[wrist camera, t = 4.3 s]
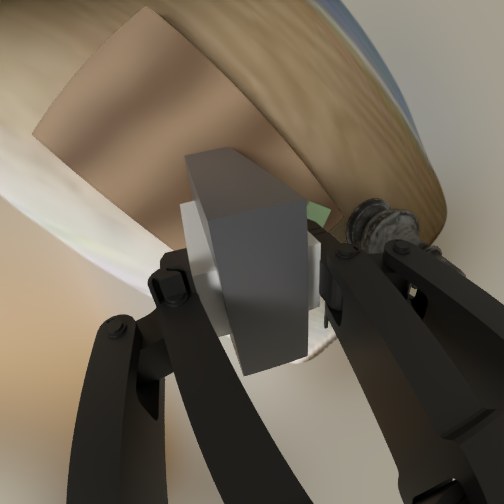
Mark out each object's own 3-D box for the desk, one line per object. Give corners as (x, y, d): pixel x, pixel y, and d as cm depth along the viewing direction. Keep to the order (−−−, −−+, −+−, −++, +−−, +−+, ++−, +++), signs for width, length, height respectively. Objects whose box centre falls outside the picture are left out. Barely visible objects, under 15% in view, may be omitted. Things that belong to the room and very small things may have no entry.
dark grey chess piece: (381, 181, 22) (495, 246, 12) (400, 227, 25) (492, 295, 15) (332, 224, 23) (436, 315, 13) (357, 266, 26) (441, 351, 16)
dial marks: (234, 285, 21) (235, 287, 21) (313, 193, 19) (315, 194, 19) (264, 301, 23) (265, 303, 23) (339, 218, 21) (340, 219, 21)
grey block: (182, 155, 15) (203, 222, 7) (229, 145, 16) (309, 198, 7) (213, 295, 21) (253, 418, 12) (250, 285, 21) (307, 400, 13)
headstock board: (40, 131, 13) (31, 134, 12) (147, 12, 12) (146, 5, 10) (244, 294, 24) (249, 305, 22) (334, 209, 22) (344, 216, 21)
